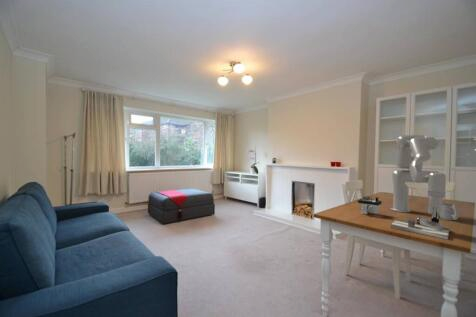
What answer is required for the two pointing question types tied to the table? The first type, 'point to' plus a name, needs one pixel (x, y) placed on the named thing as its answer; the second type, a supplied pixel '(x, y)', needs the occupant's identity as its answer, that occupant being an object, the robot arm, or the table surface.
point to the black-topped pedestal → (369, 205)
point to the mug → (449, 212)
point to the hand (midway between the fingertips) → (434, 225)
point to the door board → (419, 228)
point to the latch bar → (429, 223)
